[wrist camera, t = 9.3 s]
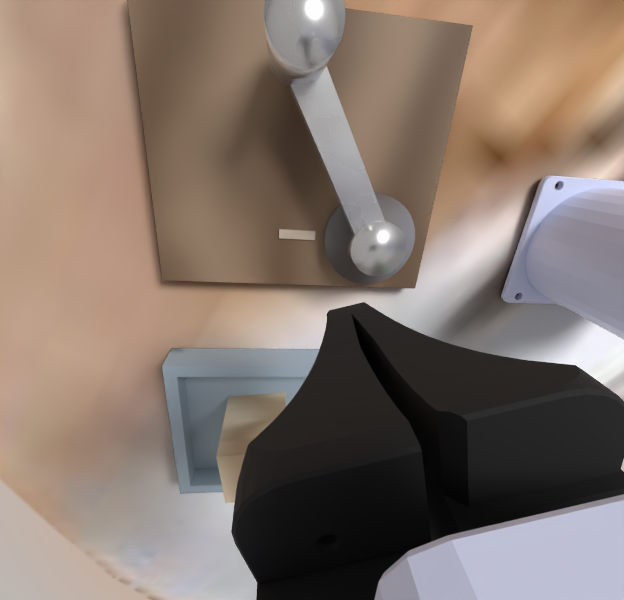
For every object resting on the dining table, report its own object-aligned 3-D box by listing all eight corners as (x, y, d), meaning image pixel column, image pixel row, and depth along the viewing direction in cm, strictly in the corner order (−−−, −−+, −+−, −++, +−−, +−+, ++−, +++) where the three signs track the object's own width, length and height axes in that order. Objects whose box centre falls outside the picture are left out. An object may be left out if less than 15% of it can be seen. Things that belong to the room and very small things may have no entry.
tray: (344, 349, 23) (349, 366, 21) (328, 465, 27) (332, 487, 26) (171, 348, 21) (161, 366, 20) (186, 469, 26) (180, 493, 24)
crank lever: (404, 254, 18) (443, 285, 14) (358, 276, 18) (382, 313, 14) (314, 6, 13) (331, -62, 9) (253, 42, 13) (242, -8, 9)
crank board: (461, 32, 16) (482, 19, 14) (409, 282, 21) (419, 293, 19) (134, -10, 14) (115, -32, 12) (167, 274, 19) (157, 285, 18)
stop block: (285, 392, 23) (286, 450, 19) (288, 433, 25) (290, 496, 20) (228, 396, 23) (216, 457, 18) (235, 438, 25) (225, 502, 20)
